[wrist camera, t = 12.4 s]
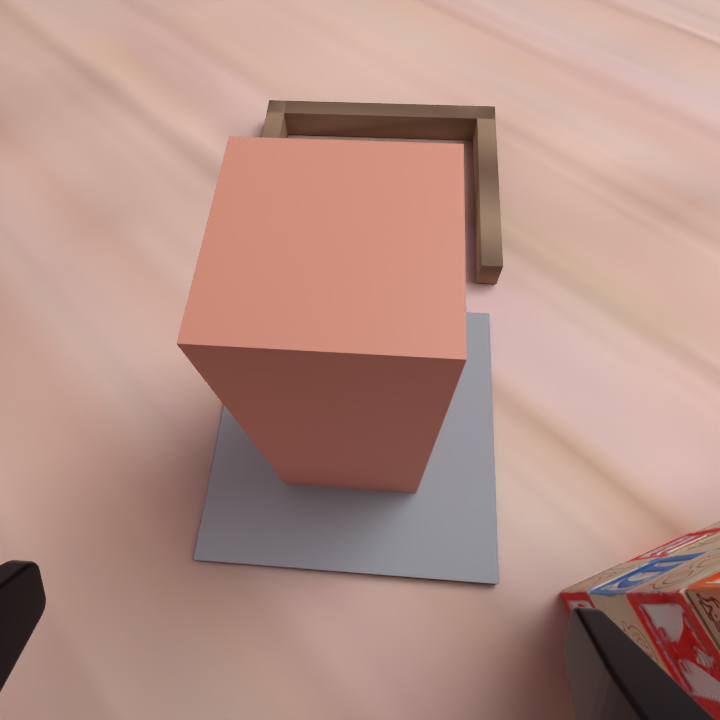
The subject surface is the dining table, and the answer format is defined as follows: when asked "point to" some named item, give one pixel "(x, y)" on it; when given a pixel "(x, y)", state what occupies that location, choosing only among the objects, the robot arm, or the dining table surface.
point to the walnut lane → (413, 124)
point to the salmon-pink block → (334, 304)
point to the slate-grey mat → (368, 501)
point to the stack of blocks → (668, 609)
